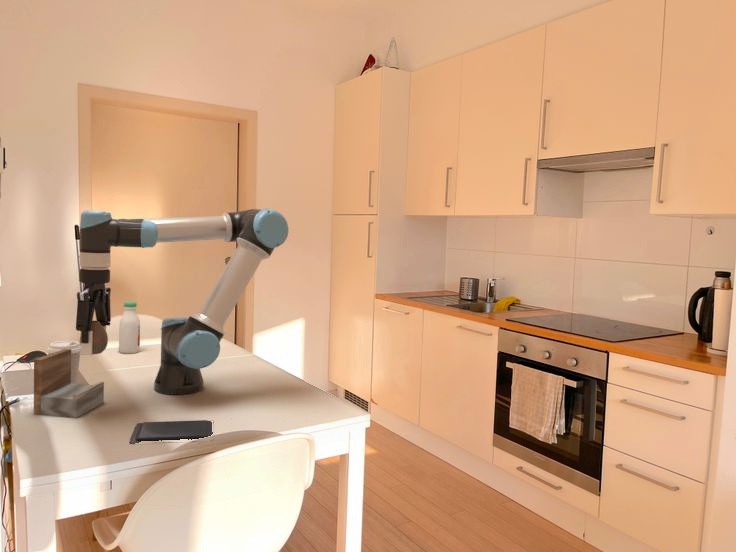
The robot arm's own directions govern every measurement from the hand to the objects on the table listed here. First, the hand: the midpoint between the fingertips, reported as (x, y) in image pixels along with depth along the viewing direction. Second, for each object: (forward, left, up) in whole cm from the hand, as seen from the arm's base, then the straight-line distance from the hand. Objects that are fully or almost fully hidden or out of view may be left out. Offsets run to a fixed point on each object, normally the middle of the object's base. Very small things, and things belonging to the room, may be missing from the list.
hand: (93, 351), depth 156 cm
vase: (0, 0, -1) cm, 1 cm away
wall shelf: (+6, -1, -17) cm, 18 cm away
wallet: (-27, +9, -18) cm, 34 cm away
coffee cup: (+17, -14, -17) cm, 28 cm away
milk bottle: (+25, -70, -17) cm, 76 cm away
